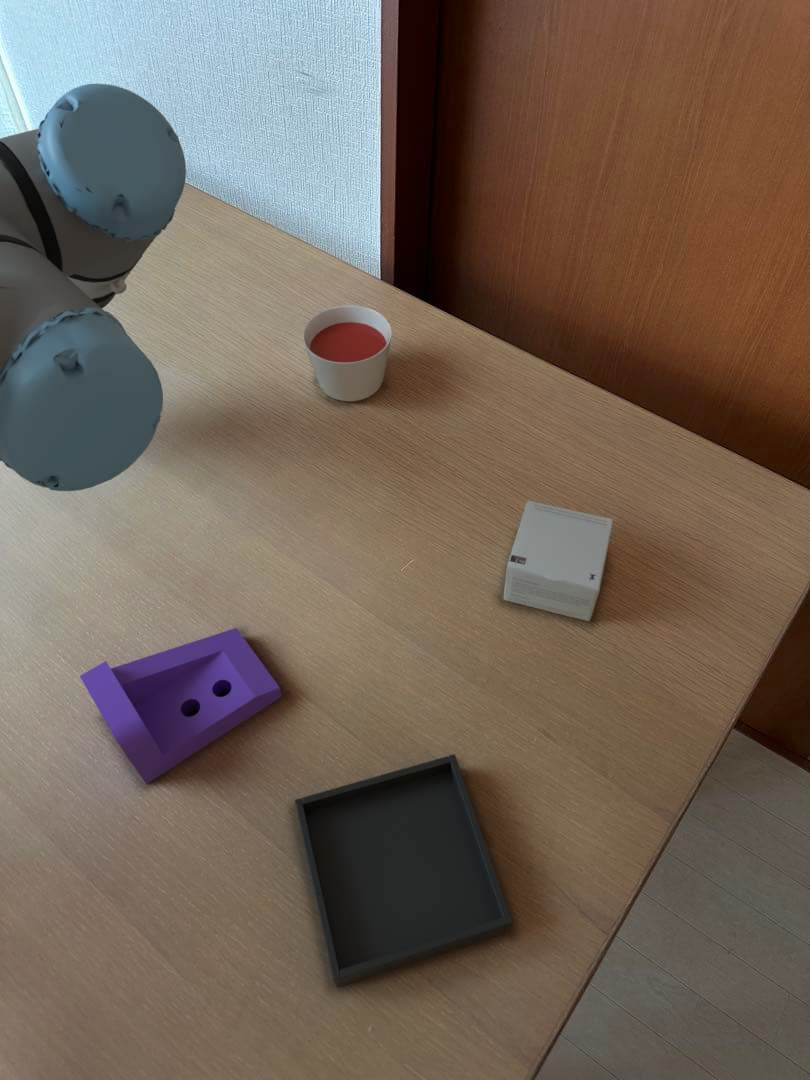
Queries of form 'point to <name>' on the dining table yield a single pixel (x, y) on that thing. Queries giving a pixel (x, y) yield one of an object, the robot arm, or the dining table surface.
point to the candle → (348, 350)
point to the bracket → (180, 699)
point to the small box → (558, 560)
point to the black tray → (399, 869)
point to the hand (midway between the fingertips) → (32, 334)
